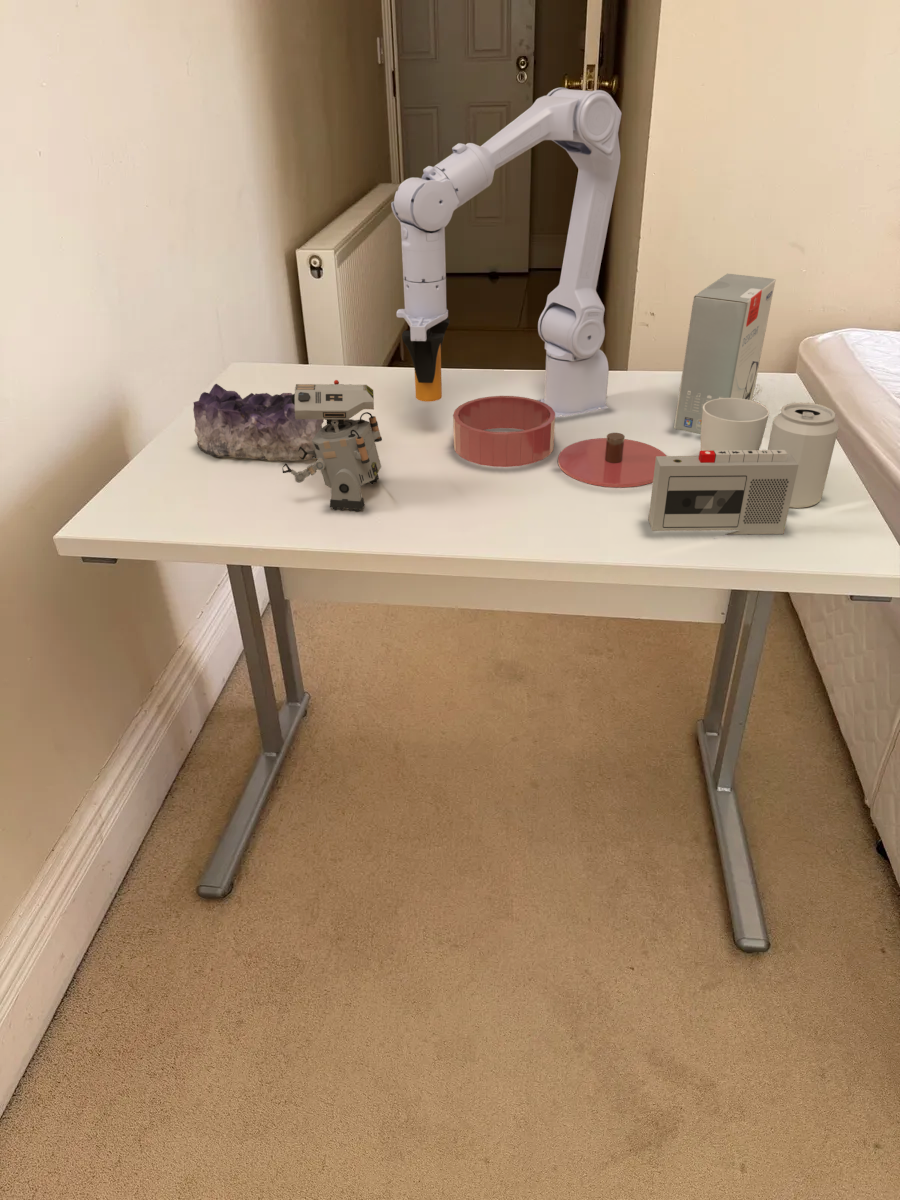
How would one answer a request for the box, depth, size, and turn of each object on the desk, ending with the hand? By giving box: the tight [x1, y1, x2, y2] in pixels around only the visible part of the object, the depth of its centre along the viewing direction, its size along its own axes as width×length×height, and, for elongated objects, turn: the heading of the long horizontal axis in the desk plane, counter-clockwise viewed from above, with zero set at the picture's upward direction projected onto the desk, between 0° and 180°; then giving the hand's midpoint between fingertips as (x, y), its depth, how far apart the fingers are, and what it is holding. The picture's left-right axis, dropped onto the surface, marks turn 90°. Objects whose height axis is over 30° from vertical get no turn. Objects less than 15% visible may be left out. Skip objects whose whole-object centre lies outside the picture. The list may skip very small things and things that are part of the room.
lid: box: [557, 432, 667, 488], centre depth 118 cm, size 15×15×5 cm
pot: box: [452, 395, 556, 468], centre depth 124 cm, size 14×14×5 cm
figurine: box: [281, 379, 383, 512], centre depth 110 cm, size 9×12×15 cm
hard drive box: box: [673, 273, 777, 435], centre depth 127 cm, size 16×8×20 cm, turn 148°
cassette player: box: [648, 449, 798, 535], centre depth 101 cm, size 16×3×10 cm, turn 89°
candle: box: [413, 343, 443, 403], centre depth 122 cm, size 4×4×8 cm
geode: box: [192, 383, 325, 462], centre depth 124 cm, size 20×12×10 cm, turn 84°
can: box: [767, 402, 840, 509], centre depth 107 cm, size 8×8×12 cm
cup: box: [699, 398, 770, 451], centre depth 112 cm, size 8×8×10 cm
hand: (428, 376), depth 123 cm, fingers closed on candle, 4 cm apart
